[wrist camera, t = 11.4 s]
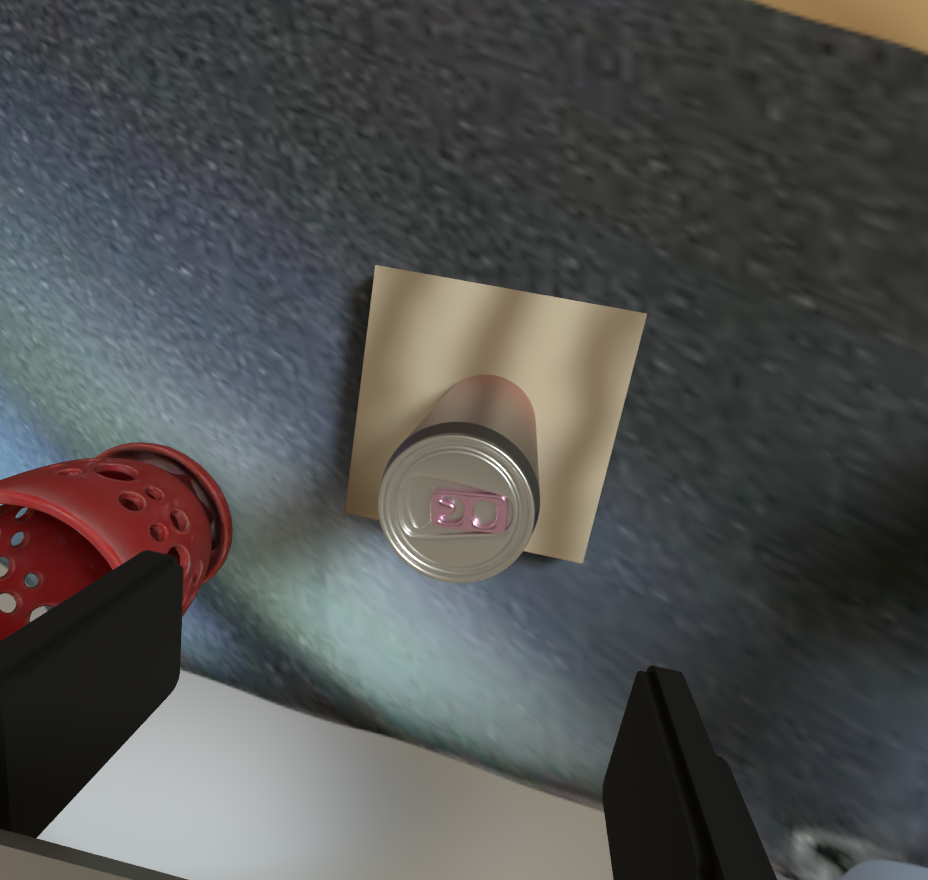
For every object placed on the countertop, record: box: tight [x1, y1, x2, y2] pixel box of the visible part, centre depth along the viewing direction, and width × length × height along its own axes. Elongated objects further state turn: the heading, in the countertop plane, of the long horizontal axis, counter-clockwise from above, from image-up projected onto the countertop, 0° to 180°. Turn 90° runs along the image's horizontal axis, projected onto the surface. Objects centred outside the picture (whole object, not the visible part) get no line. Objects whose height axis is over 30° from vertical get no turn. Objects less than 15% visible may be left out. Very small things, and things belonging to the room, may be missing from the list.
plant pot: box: [0, 443, 232, 641], centre depth 35 cm, size 13×13×12 cm
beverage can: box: [378, 374, 540, 583], centre depth 26 cm, size 6×6×15 cm
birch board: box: [345, 265, 647, 564], centre depth 34 cm, size 16×16×2 cm
